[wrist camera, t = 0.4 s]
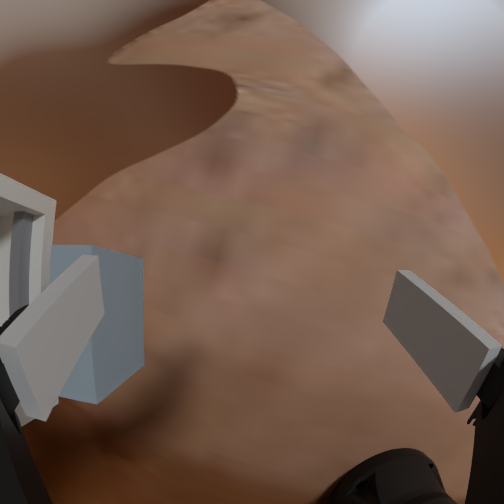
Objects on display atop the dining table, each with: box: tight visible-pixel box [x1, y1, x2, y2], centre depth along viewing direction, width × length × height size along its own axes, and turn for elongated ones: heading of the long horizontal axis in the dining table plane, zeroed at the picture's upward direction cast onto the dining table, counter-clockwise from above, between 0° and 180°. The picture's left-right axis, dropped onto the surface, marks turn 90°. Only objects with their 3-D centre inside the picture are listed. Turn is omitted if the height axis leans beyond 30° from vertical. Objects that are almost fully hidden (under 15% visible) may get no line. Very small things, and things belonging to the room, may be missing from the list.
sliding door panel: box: [50, 245, 145, 404], centre depth 24 cm, size 11×4×12 cm, turn 179°
